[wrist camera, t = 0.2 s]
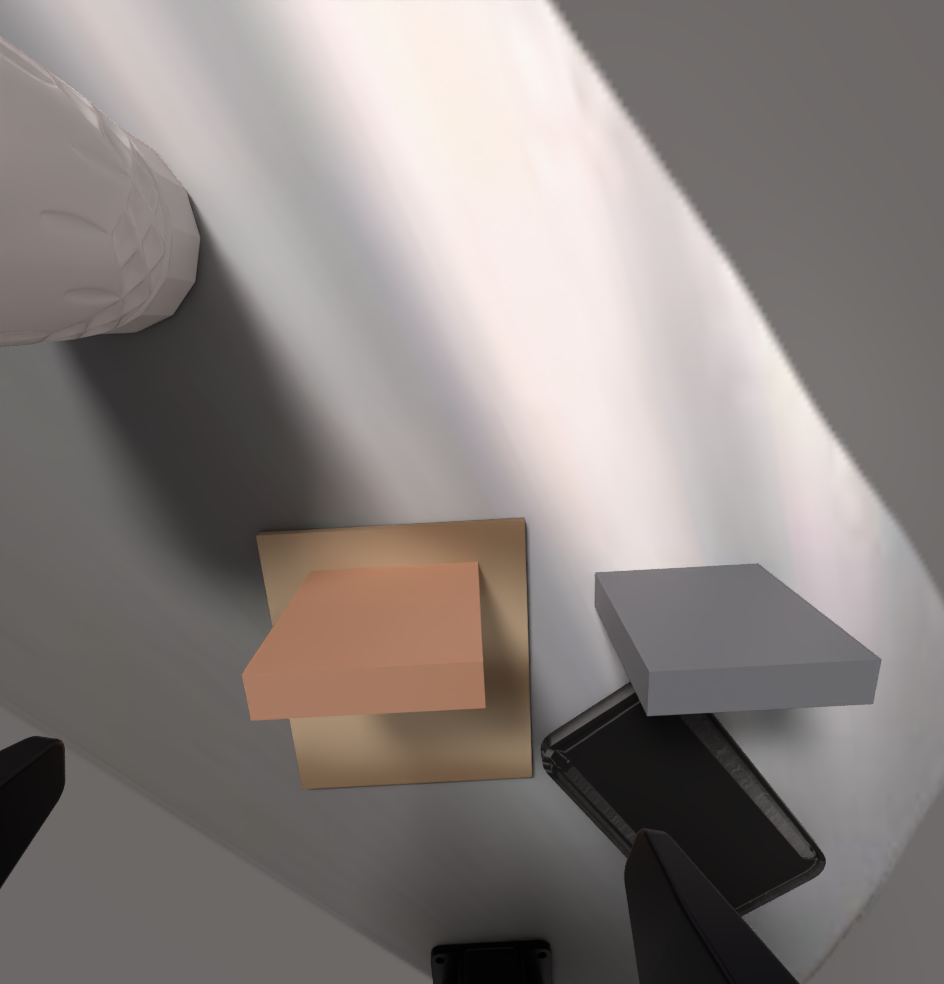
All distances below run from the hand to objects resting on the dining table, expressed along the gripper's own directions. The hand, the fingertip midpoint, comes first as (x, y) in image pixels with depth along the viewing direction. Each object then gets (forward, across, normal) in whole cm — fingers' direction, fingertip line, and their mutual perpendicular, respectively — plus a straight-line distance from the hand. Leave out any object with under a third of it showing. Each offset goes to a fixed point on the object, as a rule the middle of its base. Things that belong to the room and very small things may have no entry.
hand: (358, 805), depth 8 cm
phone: (+15, -15, +12) cm, 24 cm away
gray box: (+14, -11, +1) cm, 18 cm away
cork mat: (+14, 0, +7) cm, 16 cm away
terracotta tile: (+14, +1, +3) cm, 14 cm away
